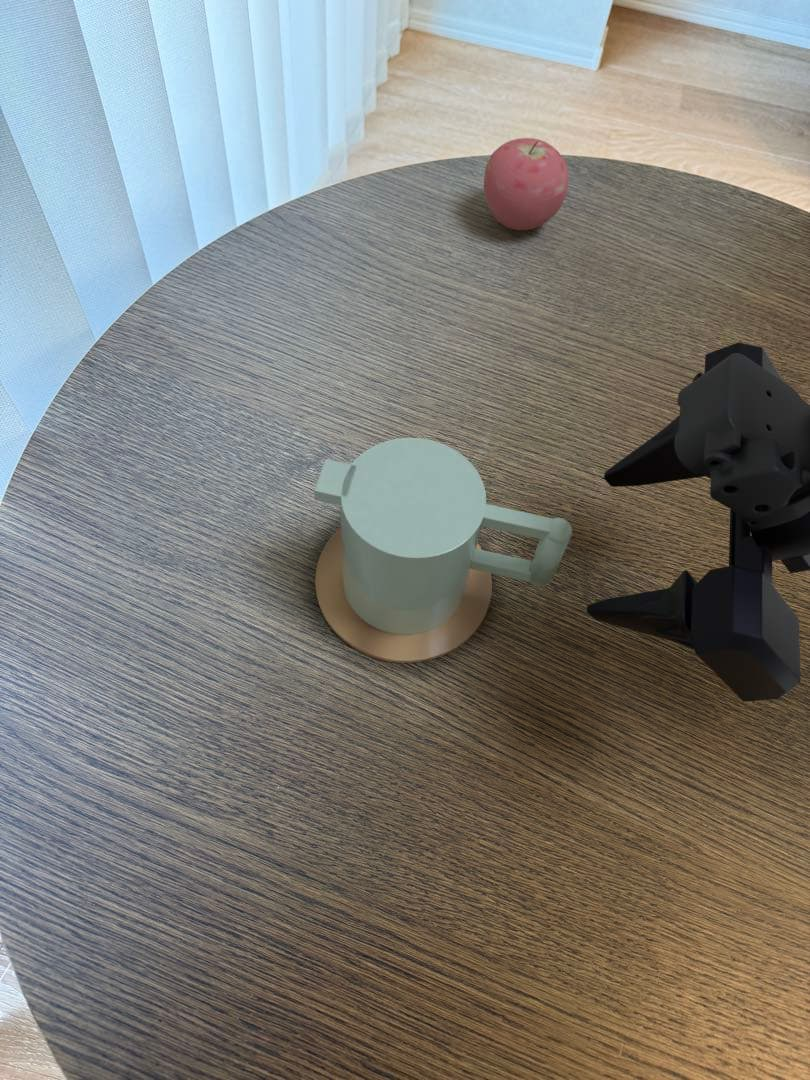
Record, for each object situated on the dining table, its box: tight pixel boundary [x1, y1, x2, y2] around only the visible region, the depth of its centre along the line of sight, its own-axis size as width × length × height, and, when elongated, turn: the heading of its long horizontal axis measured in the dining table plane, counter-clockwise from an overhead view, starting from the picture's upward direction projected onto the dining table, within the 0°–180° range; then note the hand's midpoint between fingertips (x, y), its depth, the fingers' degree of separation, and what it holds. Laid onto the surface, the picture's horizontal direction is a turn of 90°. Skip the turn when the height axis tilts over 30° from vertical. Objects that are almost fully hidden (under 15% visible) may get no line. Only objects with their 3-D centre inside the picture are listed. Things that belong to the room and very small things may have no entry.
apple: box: [483, 137, 570, 231], centre depth 73 cm, size 7×7×8 cm
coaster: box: [314, 526, 493, 664], centre depth 56 cm, size 12×12×1 cm
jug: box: [313, 437, 573, 635], centre depth 51 cm, size 15×8×10 cm, turn 77°
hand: (599, 543), depth 47 cm, fingers open, 9 cm apart
